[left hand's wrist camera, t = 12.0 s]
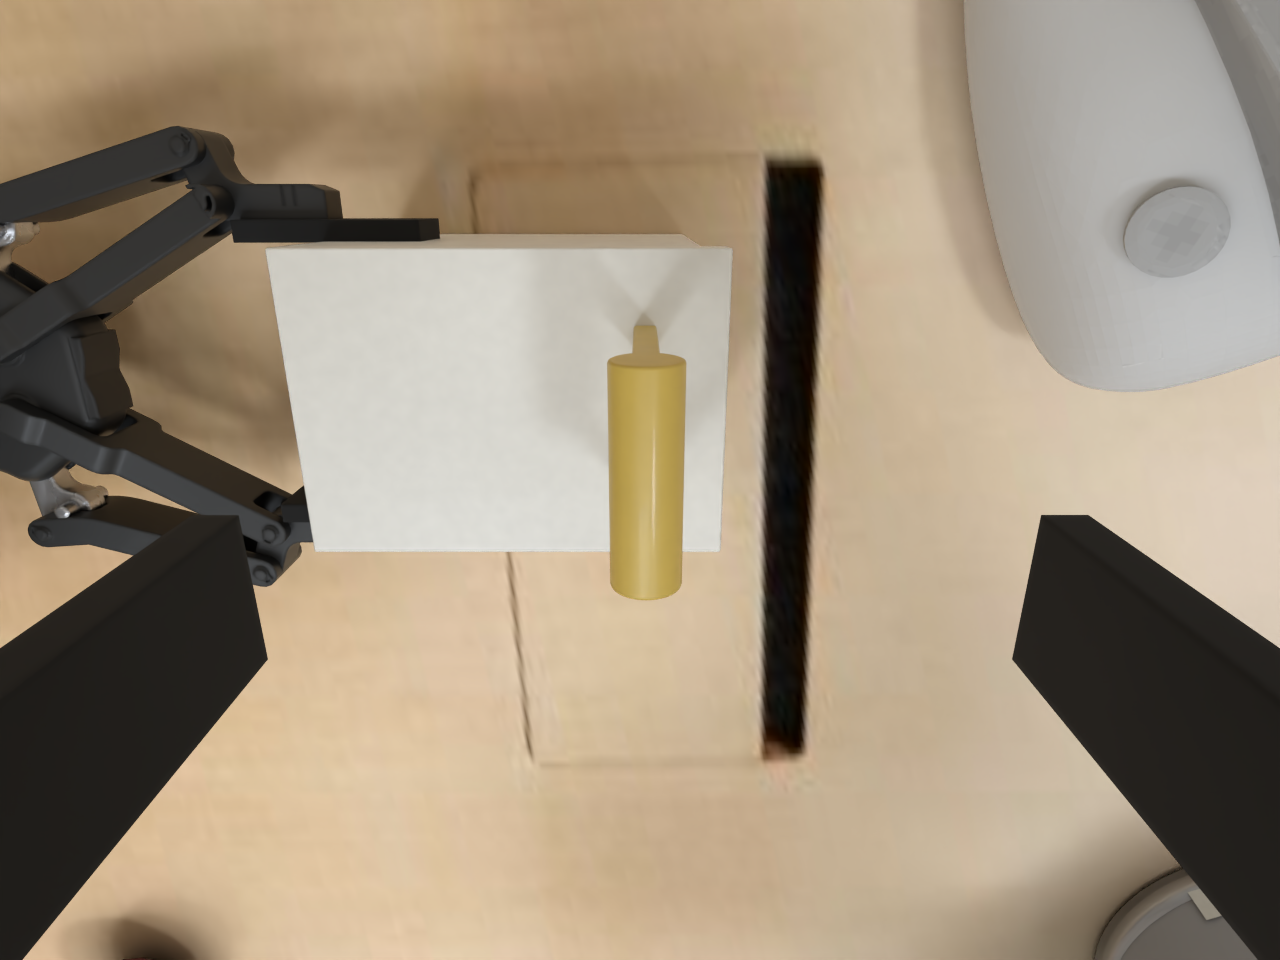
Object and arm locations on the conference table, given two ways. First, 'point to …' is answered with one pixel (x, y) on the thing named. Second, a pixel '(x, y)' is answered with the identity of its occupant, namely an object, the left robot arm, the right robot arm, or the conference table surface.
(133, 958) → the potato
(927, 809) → the conference table surface
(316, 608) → the conference table surface
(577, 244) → the chest
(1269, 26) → the projector
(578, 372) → the lid
